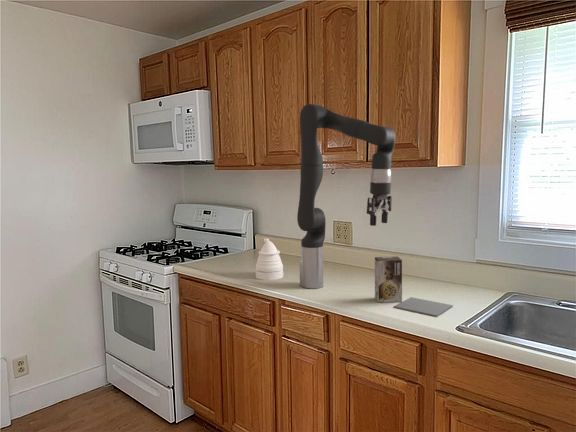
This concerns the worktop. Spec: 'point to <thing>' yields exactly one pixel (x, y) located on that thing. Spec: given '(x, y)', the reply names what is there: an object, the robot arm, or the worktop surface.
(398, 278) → the coffee box
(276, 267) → the honey pot
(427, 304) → the mat
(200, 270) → the worktop surface
